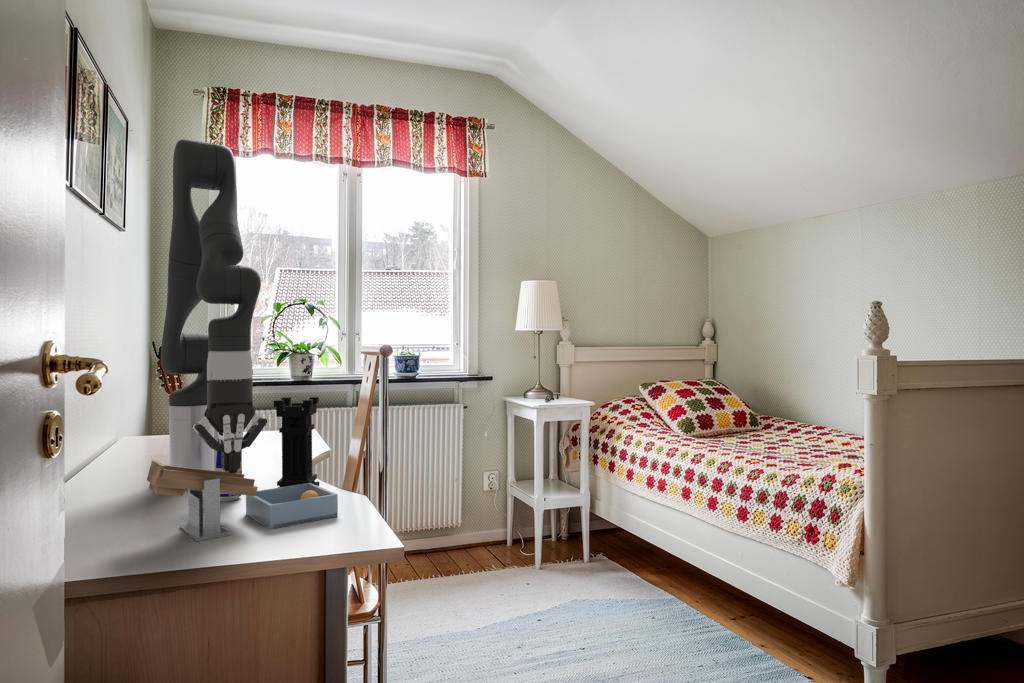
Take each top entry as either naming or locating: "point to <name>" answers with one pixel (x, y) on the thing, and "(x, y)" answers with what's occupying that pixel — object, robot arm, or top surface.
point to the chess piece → (296, 440)
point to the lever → (195, 480)
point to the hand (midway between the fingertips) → (230, 472)
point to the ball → (309, 494)
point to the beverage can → (219, 468)
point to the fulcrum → (205, 512)
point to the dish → (291, 505)
